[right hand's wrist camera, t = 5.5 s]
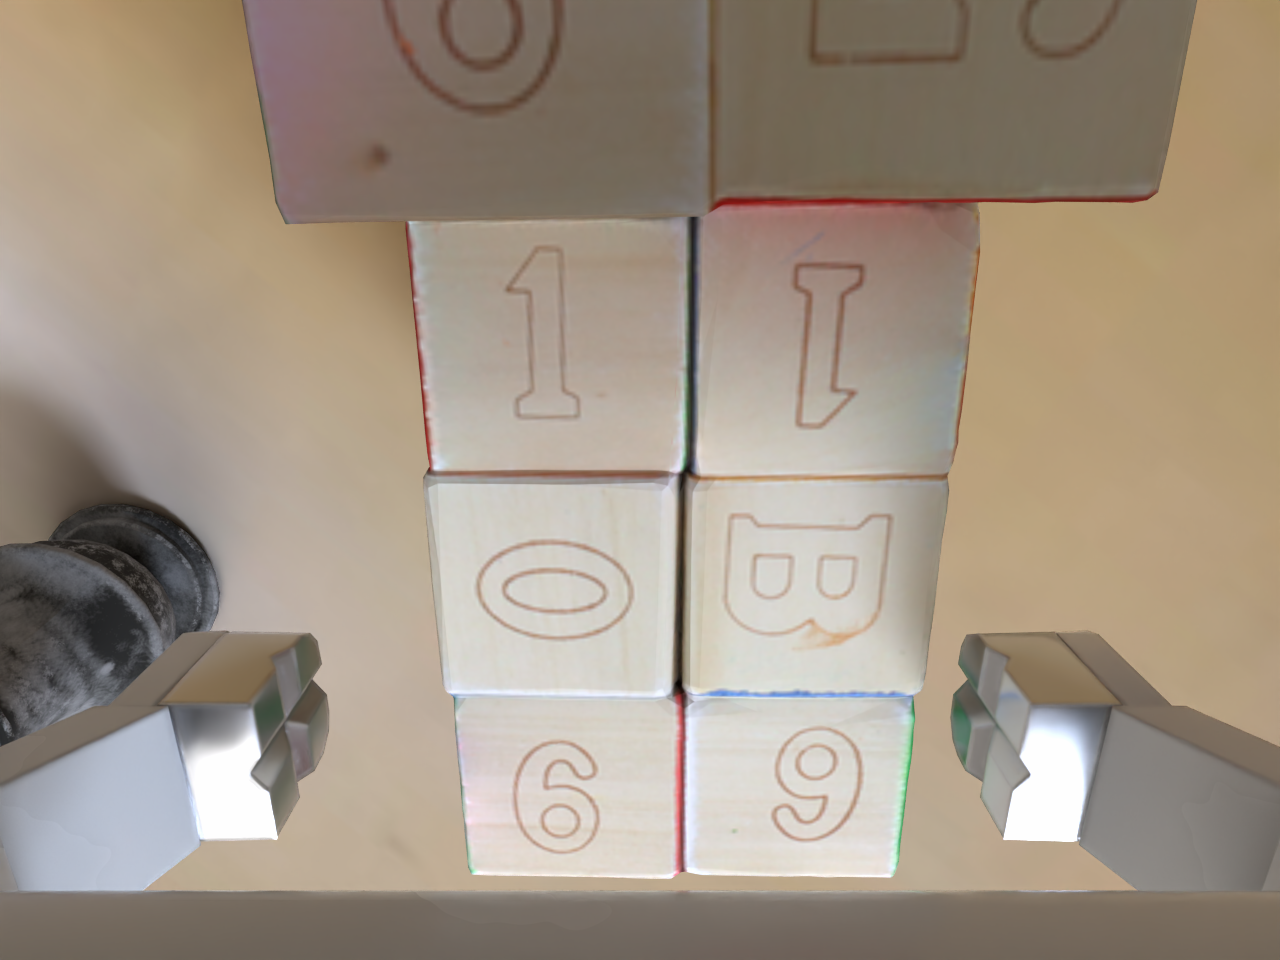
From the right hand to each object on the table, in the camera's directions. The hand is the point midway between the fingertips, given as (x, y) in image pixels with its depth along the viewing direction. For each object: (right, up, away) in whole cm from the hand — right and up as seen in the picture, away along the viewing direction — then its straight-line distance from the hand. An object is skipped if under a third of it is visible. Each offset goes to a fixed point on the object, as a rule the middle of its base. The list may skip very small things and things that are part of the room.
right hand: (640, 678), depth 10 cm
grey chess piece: (-16, -1, +15) cm, 22 cm away
